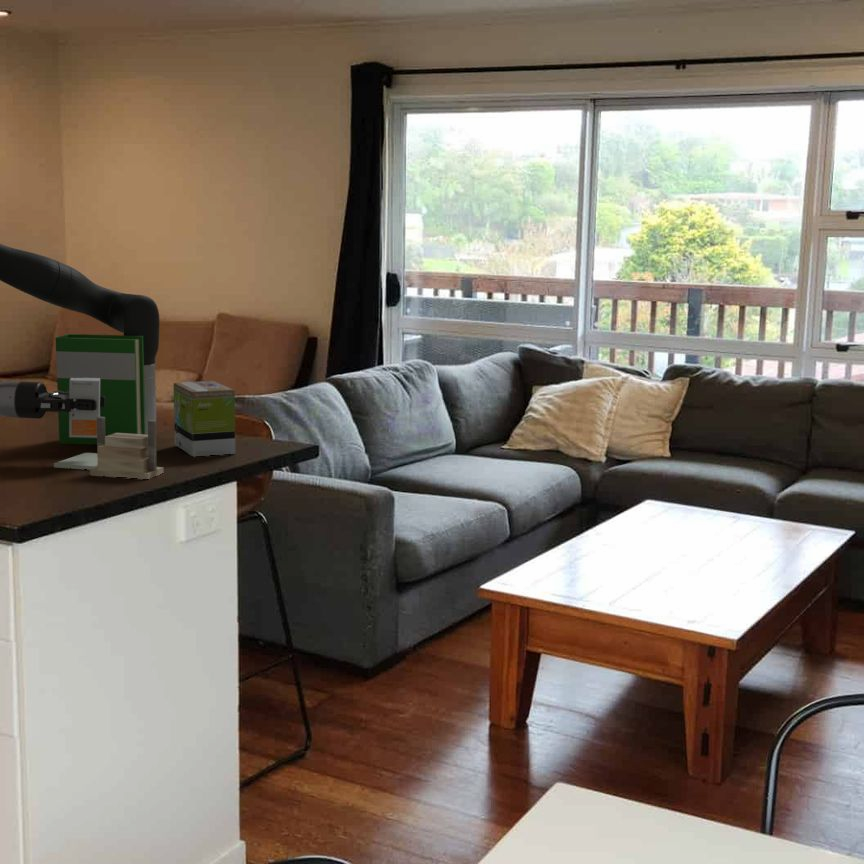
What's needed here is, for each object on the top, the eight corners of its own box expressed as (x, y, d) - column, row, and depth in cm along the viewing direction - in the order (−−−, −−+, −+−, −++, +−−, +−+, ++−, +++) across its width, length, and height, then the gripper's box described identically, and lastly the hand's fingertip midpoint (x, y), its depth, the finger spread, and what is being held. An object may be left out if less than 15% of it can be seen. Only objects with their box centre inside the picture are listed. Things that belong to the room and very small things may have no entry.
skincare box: (68, 438, 248) (68, 380, 246) (70, 434, 252) (70, 377, 250) (99, 438, 249) (99, 380, 247) (100, 434, 253) (100, 377, 251)
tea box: (172, 446, 274) (172, 381, 272) (215, 443, 279) (215, 380, 276) (191, 457, 261) (191, 389, 258) (236, 455, 265) (236, 388, 263)
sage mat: (85, 456, 259) (85, 452, 259) (124, 459, 257) (124, 455, 257) (53, 467, 247) (53, 463, 247) (94, 470, 245) (94, 466, 245)
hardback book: (145, 439, 280) (143, 335, 276) (137, 445, 273) (134, 340, 268) (69, 436, 281) (66, 333, 276) (59, 443, 273) (55, 337, 269)
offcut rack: (107, 469, 246) (106, 414, 244) (163, 473, 244) (163, 418, 242) (90, 475, 240) (88, 419, 238) (147, 479, 237) (147, 423, 235)
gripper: (5, 385, 243) (89, 389, 242) (32, 377, 257) (111, 381, 256) (6, 422, 244) (89, 426, 243) (33, 412, 258) (111, 416, 257)
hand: (100, 403), depth 250 cm, fingers closed on skincare box, 5 cm apart
